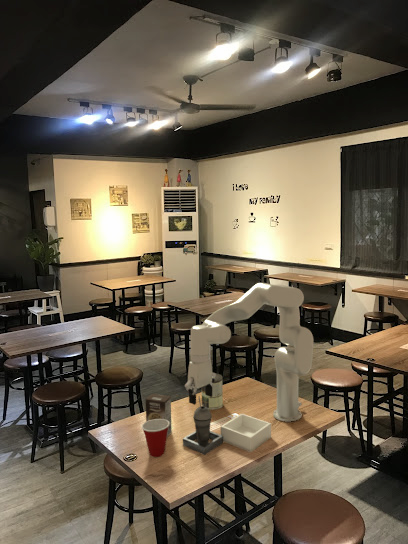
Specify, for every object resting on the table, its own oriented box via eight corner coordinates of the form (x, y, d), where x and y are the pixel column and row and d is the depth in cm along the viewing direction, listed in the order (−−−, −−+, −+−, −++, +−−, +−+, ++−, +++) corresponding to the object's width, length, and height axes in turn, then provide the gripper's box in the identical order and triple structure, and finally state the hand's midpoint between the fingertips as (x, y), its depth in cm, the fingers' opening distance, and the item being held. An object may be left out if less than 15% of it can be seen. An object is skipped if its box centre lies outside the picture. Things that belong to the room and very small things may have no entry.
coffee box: (146, 435, 182) (144, 399, 180) (153, 428, 188) (151, 392, 186) (166, 439, 179) (164, 401, 177) (172, 431, 185) (171, 395, 183)
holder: (201, 434, 183) (201, 427, 182) (223, 442, 175) (223, 435, 175) (183, 445, 174) (182, 438, 174) (204, 455, 167) (204, 447, 166)
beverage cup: (210, 449, 170) (209, 400, 168) (192, 448, 172) (190, 399, 169) (213, 440, 177) (212, 393, 175) (196, 438, 179) (194, 392, 176)
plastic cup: (159, 442, 177) (158, 414, 175) (176, 452, 169) (175, 423, 167) (136, 453, 169) (135, 423, 168) (153, 464, 162) (152, 433, 160)
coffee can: (198, 408, 207) (197, 379, 205) (205, 399, 217) (205, 372, 215) (219, 411, 204) (218, 382, 202) (225, 402, 213) (225, 374, 211)
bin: (241, 426, 188) (241, 413, 187) (271, 437, 179) (271, 423, 178) (220, 440, 177) (220, 426, 176) (250, 452, 168) (250, 437, 167)
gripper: (207, 350, 179) (207, 390, 181) (178, 361, 166) (178, 404, 168) (222, 354, 174) (222, 395, 176) (192, 365, 161) (193, 409, 163)
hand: (200, 399), depth 172 cm, fingers open, 9 cm apart
